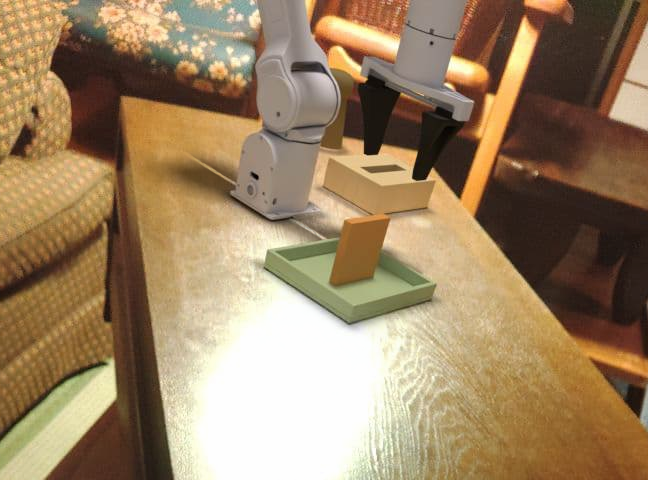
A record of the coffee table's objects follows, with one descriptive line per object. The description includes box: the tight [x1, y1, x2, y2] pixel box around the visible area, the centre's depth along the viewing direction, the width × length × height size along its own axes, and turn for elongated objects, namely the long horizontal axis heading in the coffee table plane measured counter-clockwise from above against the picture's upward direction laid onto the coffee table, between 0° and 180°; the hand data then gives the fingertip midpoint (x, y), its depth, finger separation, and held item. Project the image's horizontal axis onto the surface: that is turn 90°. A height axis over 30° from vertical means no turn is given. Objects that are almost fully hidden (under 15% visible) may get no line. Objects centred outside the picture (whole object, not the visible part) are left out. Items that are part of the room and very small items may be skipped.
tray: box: [263, 237, 438, 324], centre depth 84 cm, size 15×13×2 cm
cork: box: [320, 67, 355, 150], centre depth 119 cm, size 6×6×11 cm
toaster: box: [322, 152, 437, 216], centre depth 108 cm, size 14×10×4 cm
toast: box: [329, 214, 391, 286], centre depth 83 cm, size 7×1×7 cm, turn 138°
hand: (394, 166), depth 87 cm, fingers open, 7 cm apart
